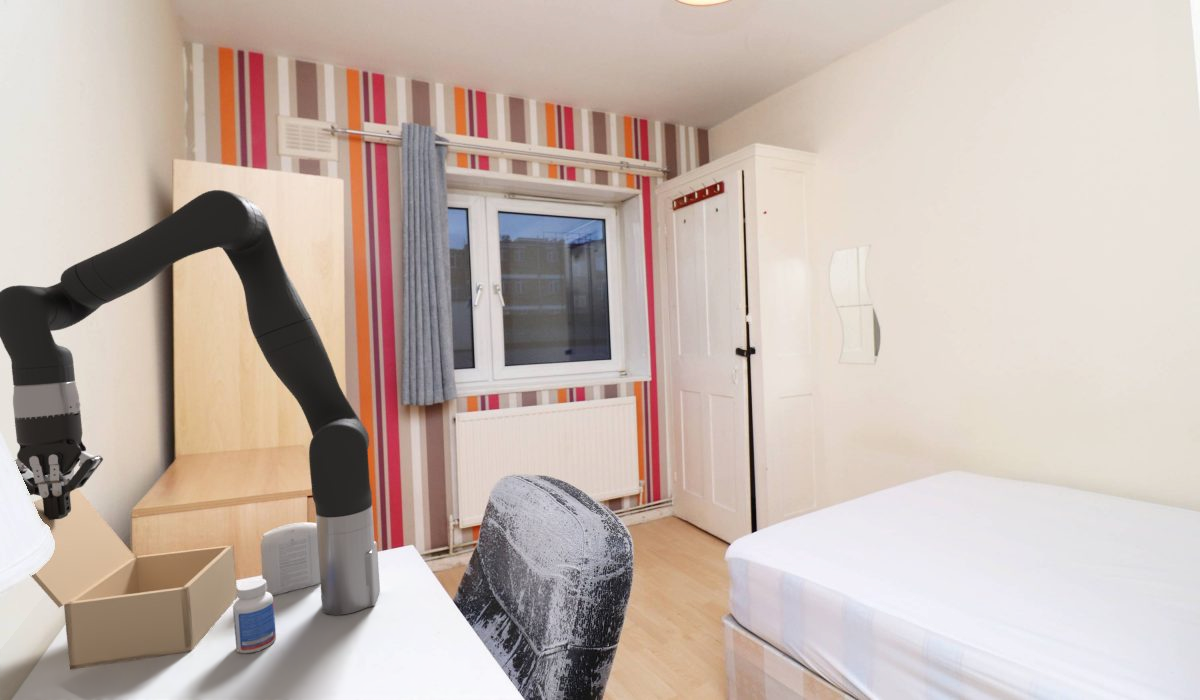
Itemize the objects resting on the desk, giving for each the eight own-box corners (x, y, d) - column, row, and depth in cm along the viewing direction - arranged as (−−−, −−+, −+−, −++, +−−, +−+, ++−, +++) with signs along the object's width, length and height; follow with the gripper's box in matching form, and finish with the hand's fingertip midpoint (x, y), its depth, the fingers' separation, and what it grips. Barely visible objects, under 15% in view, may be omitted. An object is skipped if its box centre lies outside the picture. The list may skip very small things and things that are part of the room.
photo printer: (322, 576, 113) (318, 515, 112) (325, 583, 109) (321, 521, 109) (262, 591, 107) (258, 527, 106) (264, 600, 104) (259, 534, 103)
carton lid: (75, 485, 99) (40, 506, 97) (-12, 520, 81) (-56, 546, 80) (134, 556, 101) (101, 577, 100) (63, 605, 83) (21, 631, 82)
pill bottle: (283, 638, 90) (279, 579, 90) (250, 657, 85) (246, 595, 85) (261, 632, 92) (257, 574, 92) (228, 650, 87) (223, 589, 87)
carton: (237, 597, 105) (233, 544, 105) (191, 651, 88) (186, 588, 87) (138, 610, 101) (134, 556, 101) (69, 669, 84) (63, 604, 83)
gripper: (-23, 419, 84) (-11, 531, 85) (81, 411, 87) (91, 520, 88) (16, 411, 92) (27, 515, 93) (110, 405, 95) (120, 505, 96)
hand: (58, 517), depth 90 cm, fingers closed
